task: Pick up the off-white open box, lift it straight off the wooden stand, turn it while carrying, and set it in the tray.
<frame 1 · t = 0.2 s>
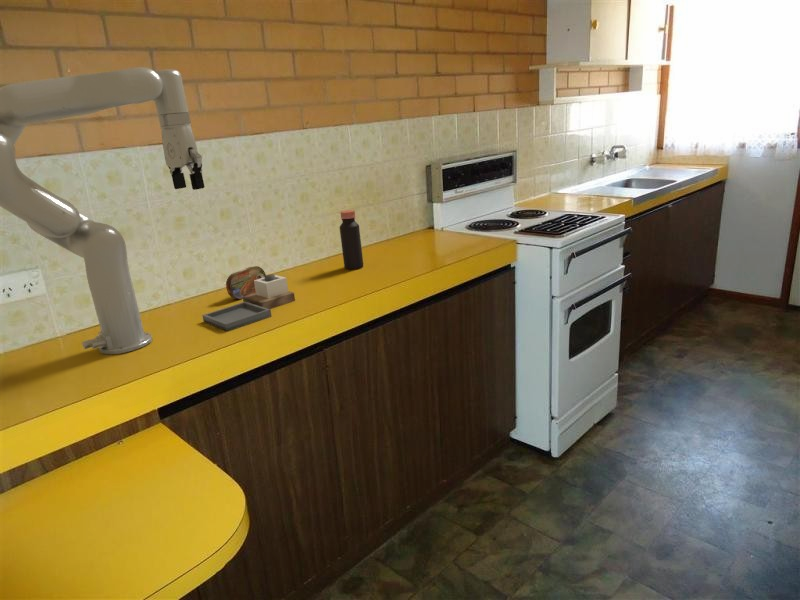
hand: (189, 188, 152), 36 cm above the countertop, tool pointing down, fingers open, 9 cm apart
bottle: (354, 268, 203), on the countertop
tray: (237, 319, 160), on the countertop
wooden stand: (269, 302, 172), on the countertop
off-white open box: (272, 293, 172), point 2 cm above the countertop, touching wooden stand
tin: (248, 295, 182), on the countertop
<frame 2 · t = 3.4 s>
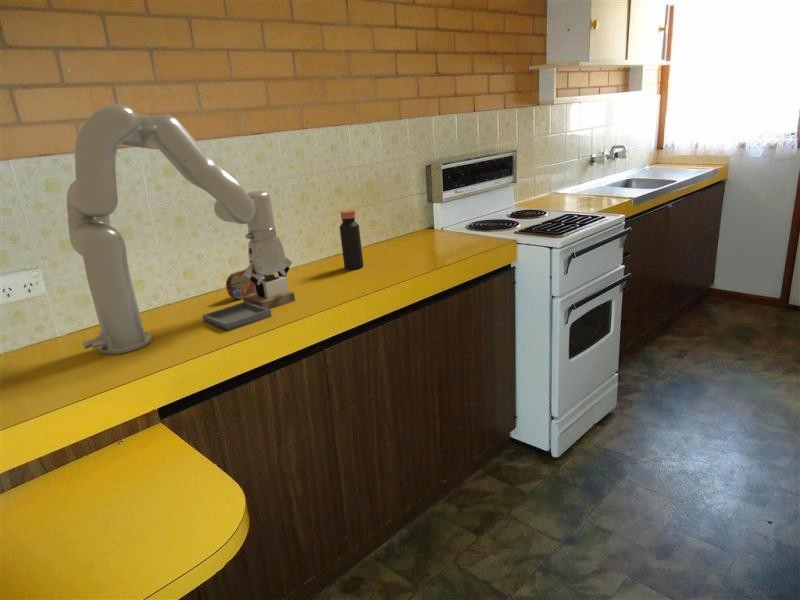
hand: (272, 292, 172), 3 cm above the countertop, tool pointing down, fingers closed on off-white open box, 6 cm apart
off-white open box: (272, 293, 172), point 2 cm above the countertop, touching gripper, wooden stand
everything else where it was.
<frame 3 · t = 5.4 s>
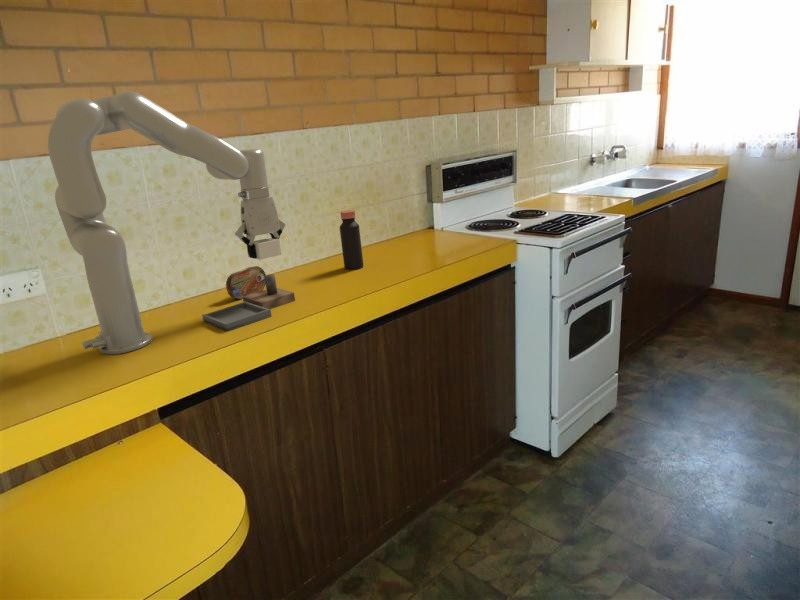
hand: (264, 254, 168), 15 cm above the countertop, tool pointing down, fingers closed on off-white open box, 6 cm apart
off-white open box: (264, 255, 168), point 14 cm above the countertop, touching gripper
everything else where it was.
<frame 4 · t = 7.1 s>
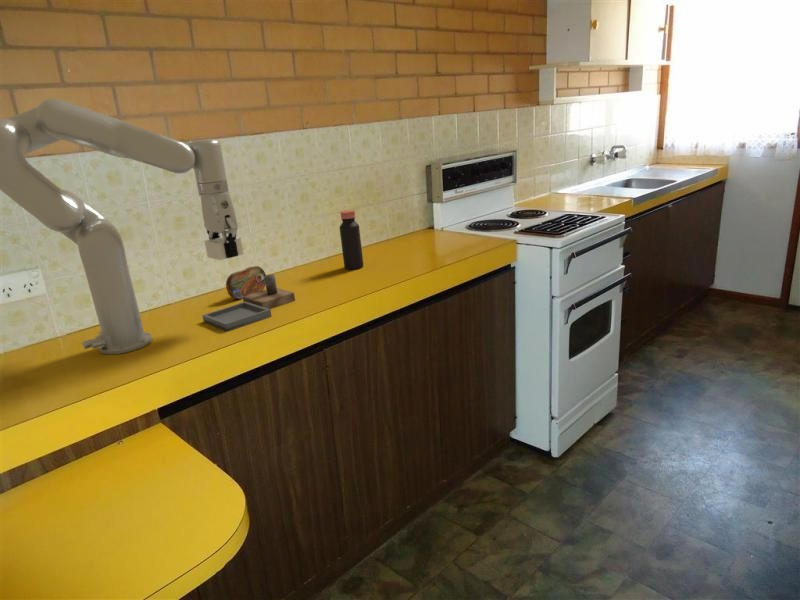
hand: (225, 254, 154), 18 cm above the countertop, tool pointing down, fingers closed on off-white open box, 6 cm apart
off-white open box: (225, 255, 154), point 18 cm above the countertop, touching gripper
everything else where it was.
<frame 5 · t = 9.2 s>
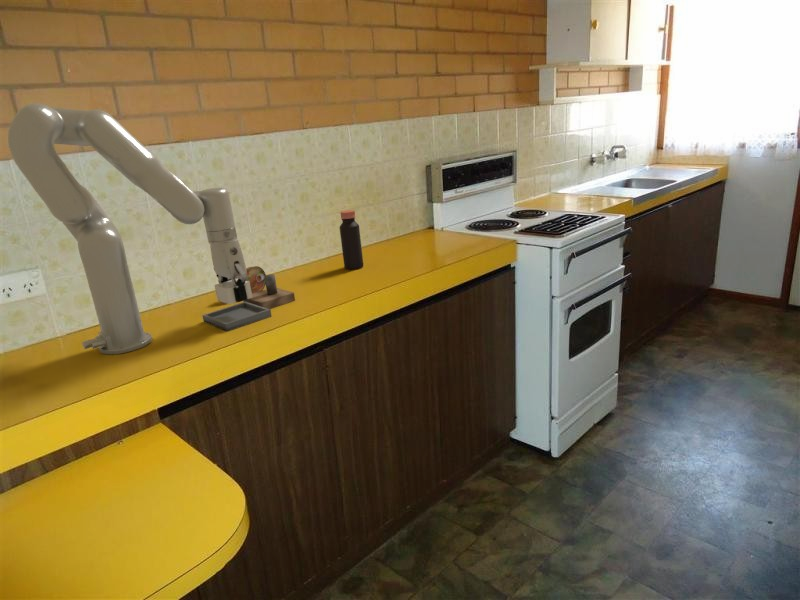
hand: (234, 298, 158), 6 cm above the countertop, tool pointing down, fingers closed on off-white open box, 6 cm apart
off-white open box: (235, 298, 158), point 6 cm above the countertop, touching gripper
everything else where it was.
when the fingers open (3 cm above the countertop, at t = 10.9 s): off-white open box drops 2 cm, resting on tray.
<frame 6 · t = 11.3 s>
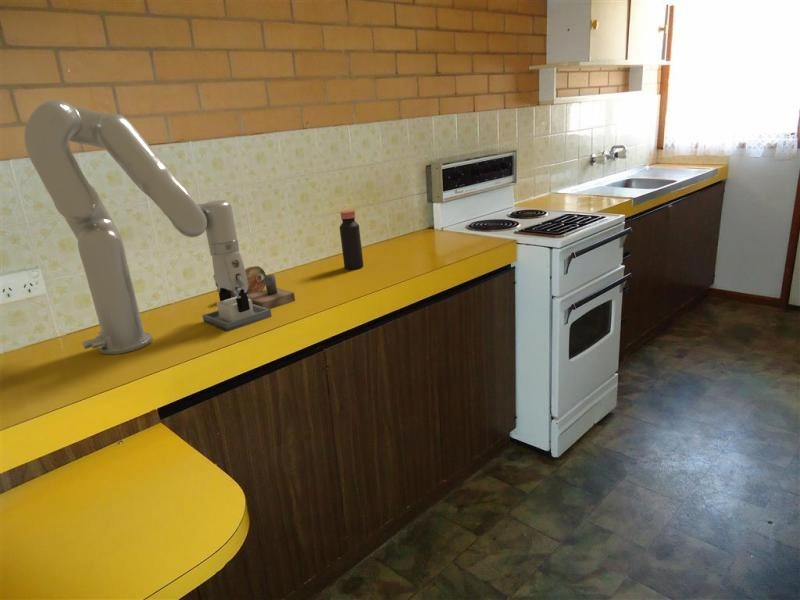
hand: (235, 307, 159), 3 cm above the countertop, tool pointing down, fingers open, 9 cm apart
off-white open box: (236, 316, 159), point 1 cm above the countertop, touching tray
everything else where it was.
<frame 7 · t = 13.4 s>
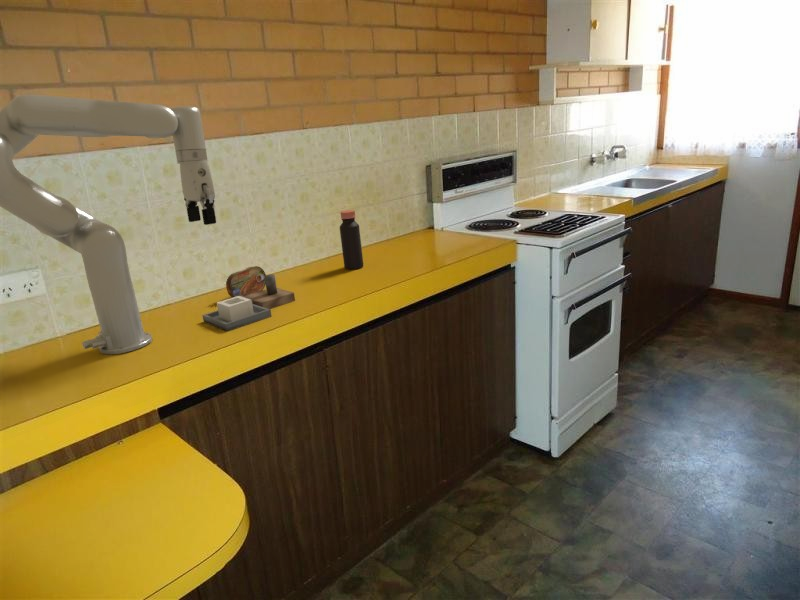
hand: (202, 222, 153), 27 cm above the countertop, tool pointing down, fingers open, 9 cm apart
nothing on the countertop moved.
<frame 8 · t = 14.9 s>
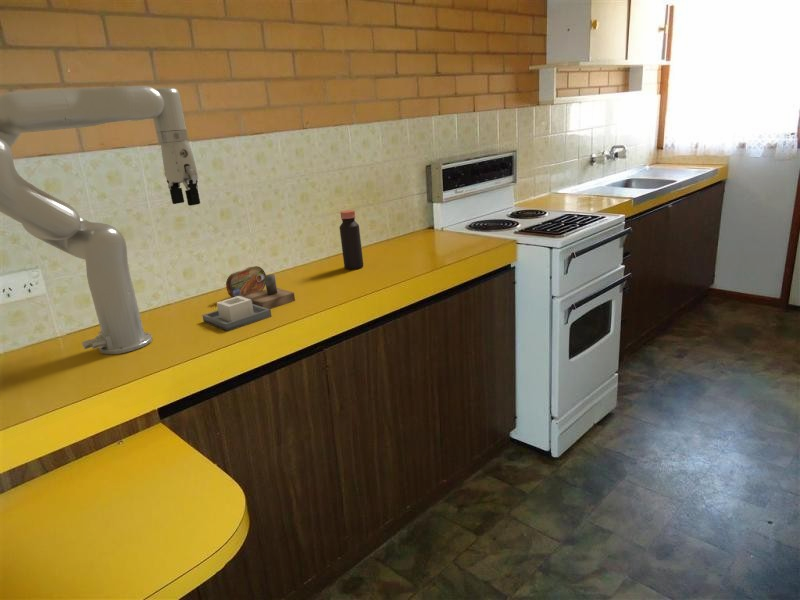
hand: (186, 203, 154), 32 cm above the countertop, tool pointing down, fingers open, 9 cm apart
nothing on the countertop moved.
at the end: off-white open box inside the target area on the tray (0.1 cm from its centre), point 0.8 cm above the tray's base; off-white open box tilted 0°; the gripper is holding nothing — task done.
